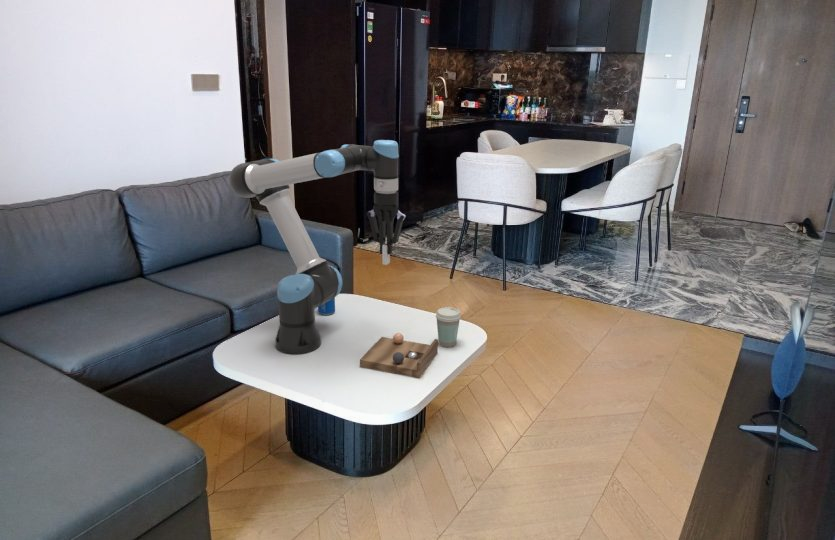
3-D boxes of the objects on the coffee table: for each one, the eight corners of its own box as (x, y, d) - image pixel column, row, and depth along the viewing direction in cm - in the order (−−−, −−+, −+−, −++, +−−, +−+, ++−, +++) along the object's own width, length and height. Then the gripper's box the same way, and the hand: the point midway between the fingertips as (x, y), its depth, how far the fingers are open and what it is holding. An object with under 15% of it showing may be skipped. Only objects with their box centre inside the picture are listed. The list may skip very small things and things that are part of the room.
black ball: (391, 364, 180) (391, 354, 179) (395, 359, 184) (395, 349, 182) (401, 366, 179) (401, 355, 178) (405, 361, 183) (405, 351, 181)
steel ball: (404, 362, 186) (407, 353, 185) (408, 357, 189) (411, 348, 188) (414, 366, 186) (417, 357, 184) (418, 361, 189) (421, 352, 187)
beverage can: (315, 315, 222) (314, 285, 218) (321, 308, 228) (320, 280, 224) (332, 316, 221) (331, 287, 217) (337, 310, 227) (336, 281, 223)
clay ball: (391, 344, 194) (391, 334, 193) (395, 340, 197) (395, 330, 196) (401, 346, 193) (401, 336, 191) (405, 341, 196) (405, 332, 195)
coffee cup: (457, 350, 196) (459, 317, 192) (432, 347, 197) (433, 315, 194) (461, 339, 204) (462, 307, 200) (437, 337, 205) (438, 305, 201)
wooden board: (359, 366, 184) (359, 352, 182) (381, 343, 200) (381, 330, 198) (419, 378, 178) (420, 363, 176) (437, 353, 194) (437, 339, 192)
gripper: (361, 191, 180) (362, 264, 188) (401, 195, 176) (400, 269, 184) (371, 187, 187) (372, 257, 194) (409, 190, 183) (409, 262, 190)
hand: (386, 263), depth 189 cm, fingers closed
